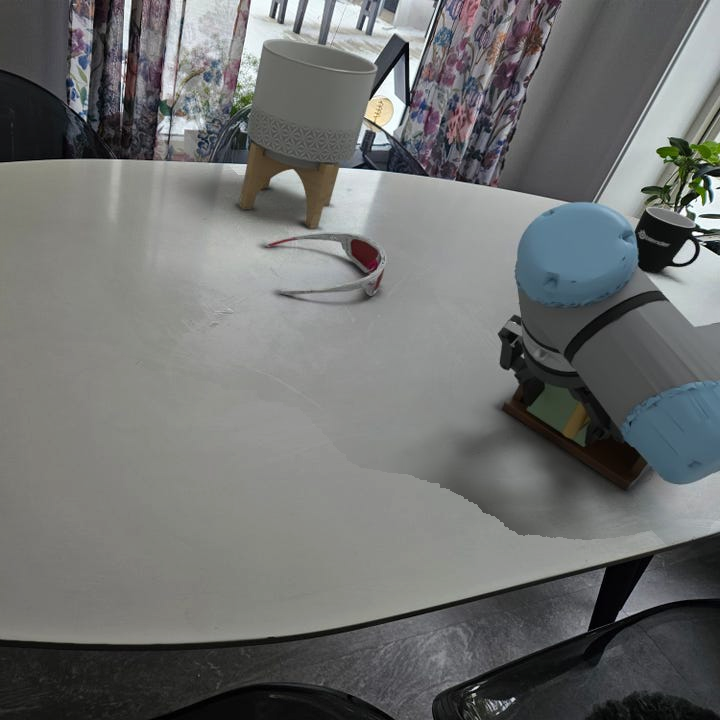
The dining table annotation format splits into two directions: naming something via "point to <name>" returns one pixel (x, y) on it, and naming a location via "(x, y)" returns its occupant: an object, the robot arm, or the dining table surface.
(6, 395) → the dining table surface
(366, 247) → the sunglasses
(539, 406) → the sliding door
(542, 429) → the cupboard
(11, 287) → the dining table surface
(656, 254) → the mug
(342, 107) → the planter
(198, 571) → the dining table surface
